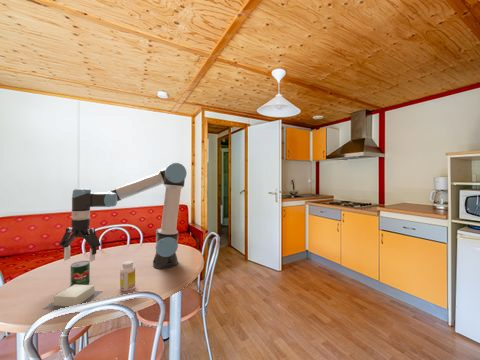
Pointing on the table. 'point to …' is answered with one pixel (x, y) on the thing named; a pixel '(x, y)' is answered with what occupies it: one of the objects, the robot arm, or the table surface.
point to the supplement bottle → (127, 276)
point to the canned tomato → (80, 273)
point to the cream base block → (74, 295)
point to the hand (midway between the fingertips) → (79, 260)
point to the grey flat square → (68, 306)
